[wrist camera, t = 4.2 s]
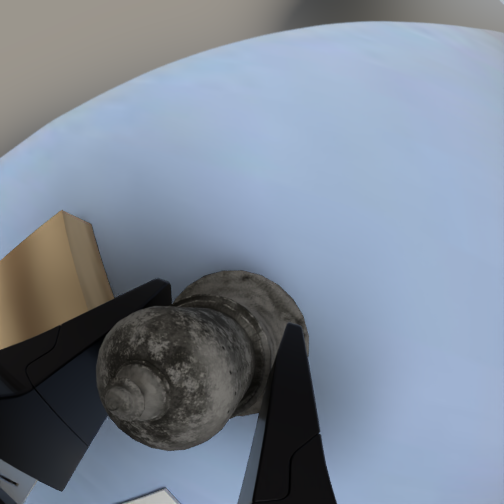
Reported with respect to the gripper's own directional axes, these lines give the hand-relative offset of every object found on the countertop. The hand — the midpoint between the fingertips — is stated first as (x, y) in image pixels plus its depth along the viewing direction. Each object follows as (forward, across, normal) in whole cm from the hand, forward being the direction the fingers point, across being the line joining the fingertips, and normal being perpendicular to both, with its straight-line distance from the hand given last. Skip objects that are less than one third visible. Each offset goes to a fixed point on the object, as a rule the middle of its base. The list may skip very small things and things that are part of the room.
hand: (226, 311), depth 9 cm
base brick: (+1, +11, +8) cm, 14 cm away
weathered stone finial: (+4, 0, +6) cm, 7 cm away
